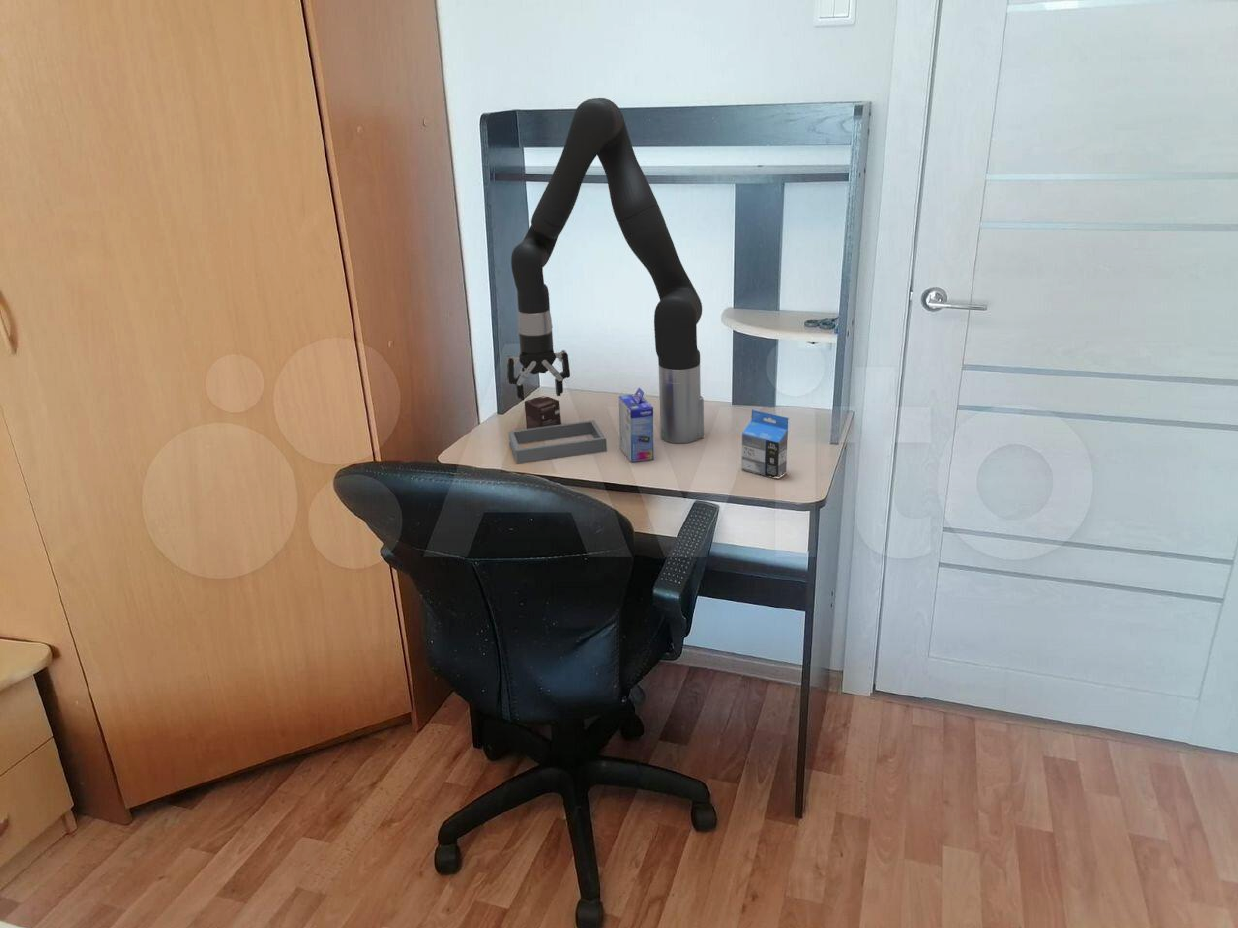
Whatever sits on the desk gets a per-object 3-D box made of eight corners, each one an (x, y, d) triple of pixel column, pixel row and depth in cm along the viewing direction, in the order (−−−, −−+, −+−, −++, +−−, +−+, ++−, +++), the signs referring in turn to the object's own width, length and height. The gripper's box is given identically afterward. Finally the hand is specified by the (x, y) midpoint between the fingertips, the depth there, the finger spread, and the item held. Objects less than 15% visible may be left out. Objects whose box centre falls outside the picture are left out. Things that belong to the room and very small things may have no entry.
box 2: (594, 431, 211) (593, 419, 210) (606, 451, 201) (606, 438, 200) (509, 443, 207) (508, 431, 206) (517, 463, 197) (516, 451, 195)
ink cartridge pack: (740, 470, 188) (740, 414, 183) (750, 463, 191) (751, 409, 186) (777, 480, 183) (779, 423, 178) (787, 473, 186) (789, 417, 181)
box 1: (541, 437, 210) (538, 407, 207) (526, 430, 214) (523, 401, 211) (562, 429, 214) (559, 400, 211) (546, 423, 218) (544, 394, 215)
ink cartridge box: (655, 460, 195) (653, 396, 189) (631, 463, 194) (628, 400, 188) (642, 443, 204) (640, 382, 198) (618, 447, 203) (615, 385, 197)
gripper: (563, 322, 209) (567, 388, 216) (501, 328, 206) (507, 395, 213) (569, 331, 202) (573, 399, 209) (506, 337, 199) (512, 406, 206)
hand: (540, 397), depth 211 cm, fingers open, 8 cm apart
